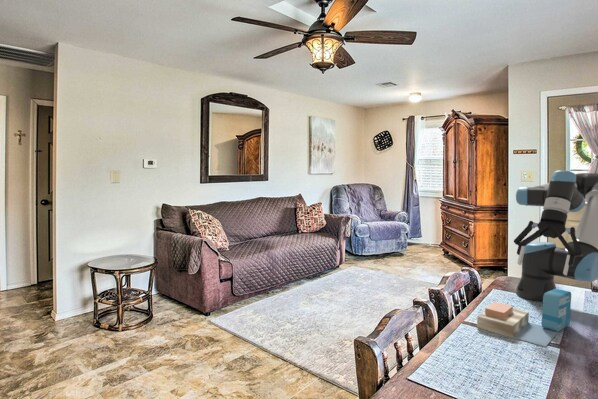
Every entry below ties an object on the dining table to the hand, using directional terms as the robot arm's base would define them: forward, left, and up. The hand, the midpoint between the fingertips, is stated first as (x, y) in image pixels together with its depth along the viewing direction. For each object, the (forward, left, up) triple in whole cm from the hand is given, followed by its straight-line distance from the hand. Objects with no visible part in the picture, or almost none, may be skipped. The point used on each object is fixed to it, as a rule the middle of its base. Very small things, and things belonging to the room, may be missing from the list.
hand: (541, 269), depth 129 cm
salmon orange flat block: (+10, -10, -15) cm, 21 cm away
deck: (+10, -8, -19) cm, 23 cm away
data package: (-1, +5, -19) cm, 20 cm away
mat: (+10, +2, -19) cm, 22 cm away
